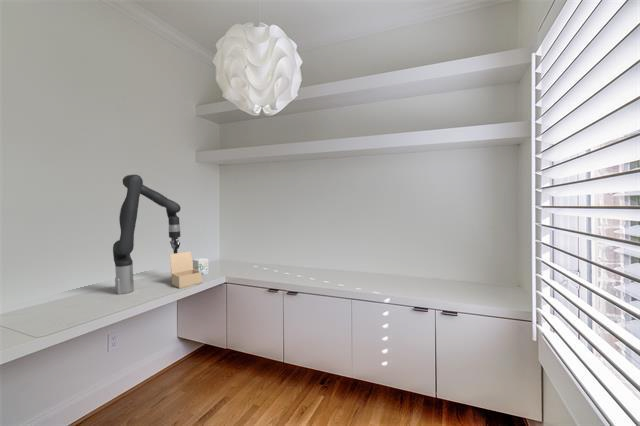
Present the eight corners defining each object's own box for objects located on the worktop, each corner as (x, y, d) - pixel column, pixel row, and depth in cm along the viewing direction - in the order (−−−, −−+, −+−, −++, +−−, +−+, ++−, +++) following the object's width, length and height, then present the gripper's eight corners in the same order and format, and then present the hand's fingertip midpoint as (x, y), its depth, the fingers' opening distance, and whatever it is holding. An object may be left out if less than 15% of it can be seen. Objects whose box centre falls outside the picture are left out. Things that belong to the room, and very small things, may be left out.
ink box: (198, 275, 223) (198, 260, 222) (192, 274, 228) (192, 259, 228) (208, 273, 230) (208, 258, 229) (202, 271, 235) (202, 257, 234)
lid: (169, 254, 201) (169, 254, 201) (171, 273, 200) (171, 273, 201) (191, 251, 212) (190, 251, 212) (193, 269, 211) (192, 269, 211)
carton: (179, 288, 192) (179, 276, 191) (172, 284, 200) (171, 273, 200) (202, 283, 202) (201, 272, 202) (193, 280, 211) (193, 269, 211)
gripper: (165, 230, 214) (166, 254, 215) (172, 231, 204) (173, 256, 206) (176, 229, 219) (177, 252, 220) (183, 230, 210) (184, 254, 211)
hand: (175, 254), depth 213 cm, fingers closed
